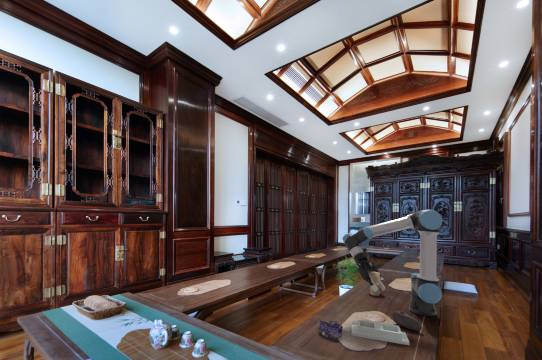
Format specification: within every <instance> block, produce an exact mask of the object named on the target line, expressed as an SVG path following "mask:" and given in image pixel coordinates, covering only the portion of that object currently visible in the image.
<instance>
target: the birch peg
mask: <svg viewBox="0 0 542 360" xmlns="http://www.w3.org/2000/svg"><path fill="white" fill-rule="evenodd" d="M378 272H379V271H378ZM378 272H369V276H370V279H372V280H373V281H374V283H375V284H376V286H377V288H378V290H377V291H376V292H375V291H374V290H373V288H372V286H371V285H370V284H369V286H370V295H372V296H380V295H381V290H380V275H381V273H380V272H379V273H378Z"/></svg>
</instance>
